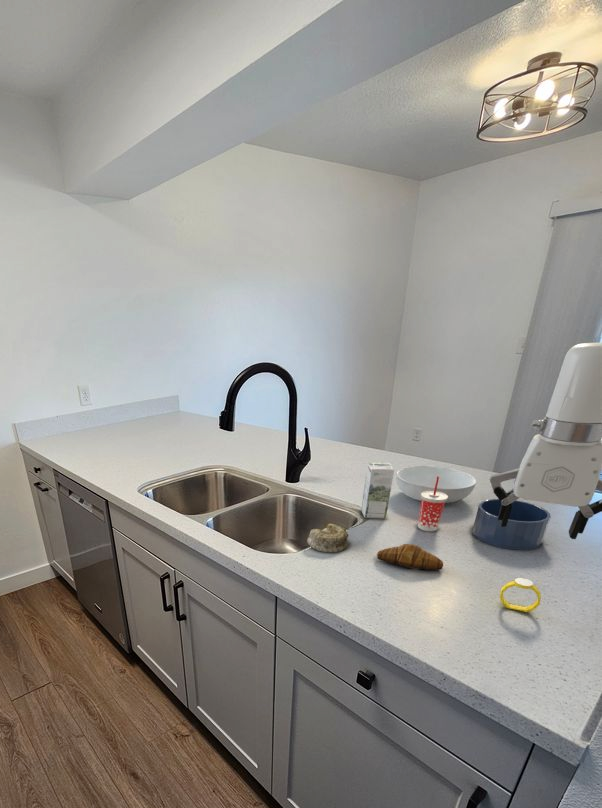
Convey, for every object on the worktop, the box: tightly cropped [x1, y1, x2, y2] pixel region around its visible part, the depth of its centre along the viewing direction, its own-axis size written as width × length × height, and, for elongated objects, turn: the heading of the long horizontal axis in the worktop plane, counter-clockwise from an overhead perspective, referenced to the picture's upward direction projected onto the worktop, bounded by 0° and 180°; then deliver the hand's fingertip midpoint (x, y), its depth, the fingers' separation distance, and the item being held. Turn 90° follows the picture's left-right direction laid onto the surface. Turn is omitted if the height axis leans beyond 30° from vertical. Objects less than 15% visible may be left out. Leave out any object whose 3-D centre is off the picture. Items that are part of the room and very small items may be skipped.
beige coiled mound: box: [306, 523, 349, 553], centre depth 107 cm, size 10×10×5 cm
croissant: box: [376, 543, 444, 571], centre depth 96 cm, size 14×7×5 cm, turn 64°
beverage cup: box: [417, 476, 448, 532], centre depth 110 cm, size 6×6×14 cm
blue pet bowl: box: [471, 498, 552, 551], centre depth 105 cm, size 14×14×7 cm
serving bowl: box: [395, 465, 477, 504], centre depth 129 cm, size 21×21×7 cm
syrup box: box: [360, 462, 395, 520], centre depth 118 cm, size 6×6×14 cm
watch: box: [499, 577, 542, 613], centre depth 80 cm, size 6×3×6 cm, turn 56°
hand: (536, 529), depth 75 cm, fingers open, 9 cm apart
